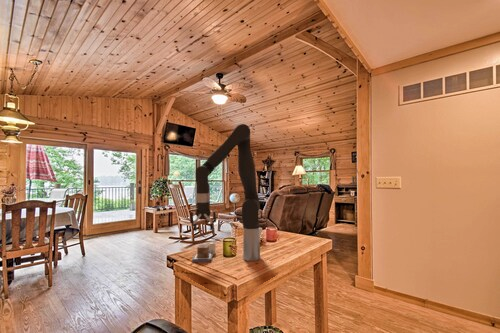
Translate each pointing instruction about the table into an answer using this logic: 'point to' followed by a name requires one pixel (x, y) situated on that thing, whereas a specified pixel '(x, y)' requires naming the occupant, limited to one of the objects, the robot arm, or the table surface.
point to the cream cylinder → (212, 247)
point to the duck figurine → (261, 233)
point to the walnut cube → (202, 251)
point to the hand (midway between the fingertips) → (203, 230)
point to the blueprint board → (202, 258)
